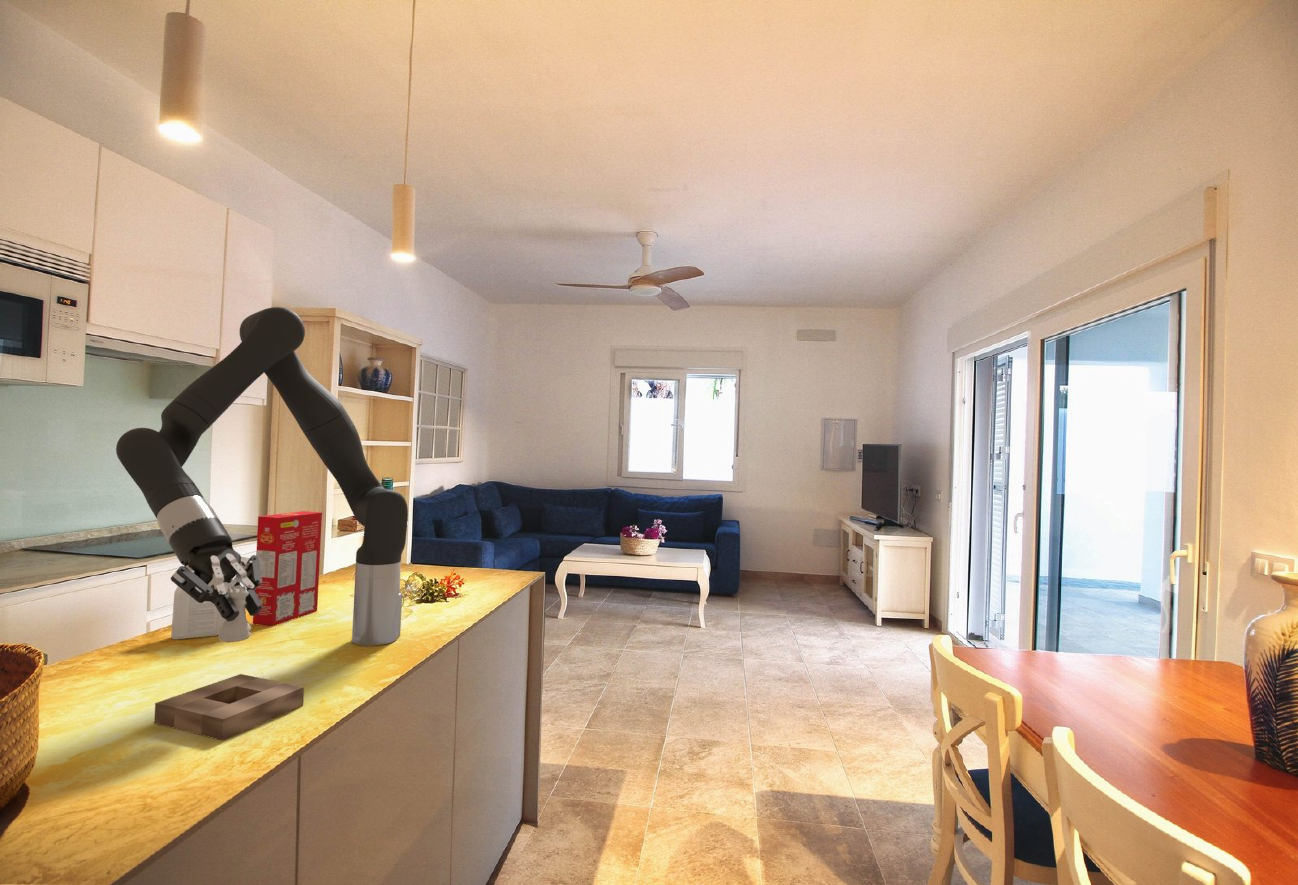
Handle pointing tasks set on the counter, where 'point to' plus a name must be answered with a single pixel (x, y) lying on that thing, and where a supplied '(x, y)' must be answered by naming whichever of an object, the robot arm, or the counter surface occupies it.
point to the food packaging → (288, 566)
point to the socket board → (229, 706)
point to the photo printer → (194, 617)
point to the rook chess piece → (239, 625)
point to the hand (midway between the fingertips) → (245, 614)
